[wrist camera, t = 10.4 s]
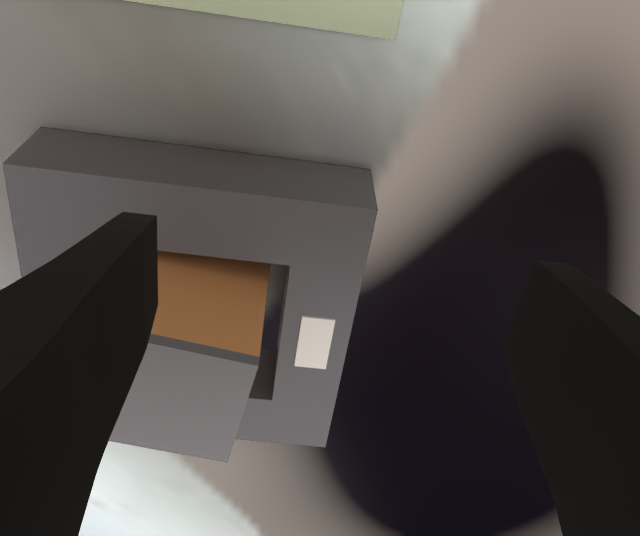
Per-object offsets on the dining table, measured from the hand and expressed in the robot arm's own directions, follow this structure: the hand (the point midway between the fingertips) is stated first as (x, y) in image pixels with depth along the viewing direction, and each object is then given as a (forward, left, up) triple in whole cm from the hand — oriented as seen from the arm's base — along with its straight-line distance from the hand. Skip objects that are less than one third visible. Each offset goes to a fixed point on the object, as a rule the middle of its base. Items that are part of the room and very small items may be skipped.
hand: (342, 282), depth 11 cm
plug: (-4, -8, -10) cm, 14 cm away
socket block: (-4, -8, -10) cm, 14 cm away
